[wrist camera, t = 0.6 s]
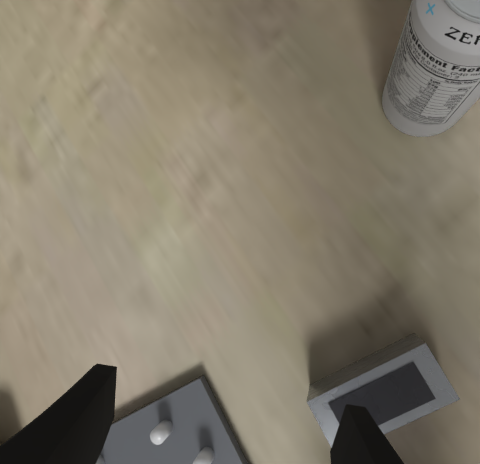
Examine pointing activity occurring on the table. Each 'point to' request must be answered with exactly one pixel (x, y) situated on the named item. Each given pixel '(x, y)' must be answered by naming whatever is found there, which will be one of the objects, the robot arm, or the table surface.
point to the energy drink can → (434, 67)
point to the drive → (384, 388)
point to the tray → (174, 431)
